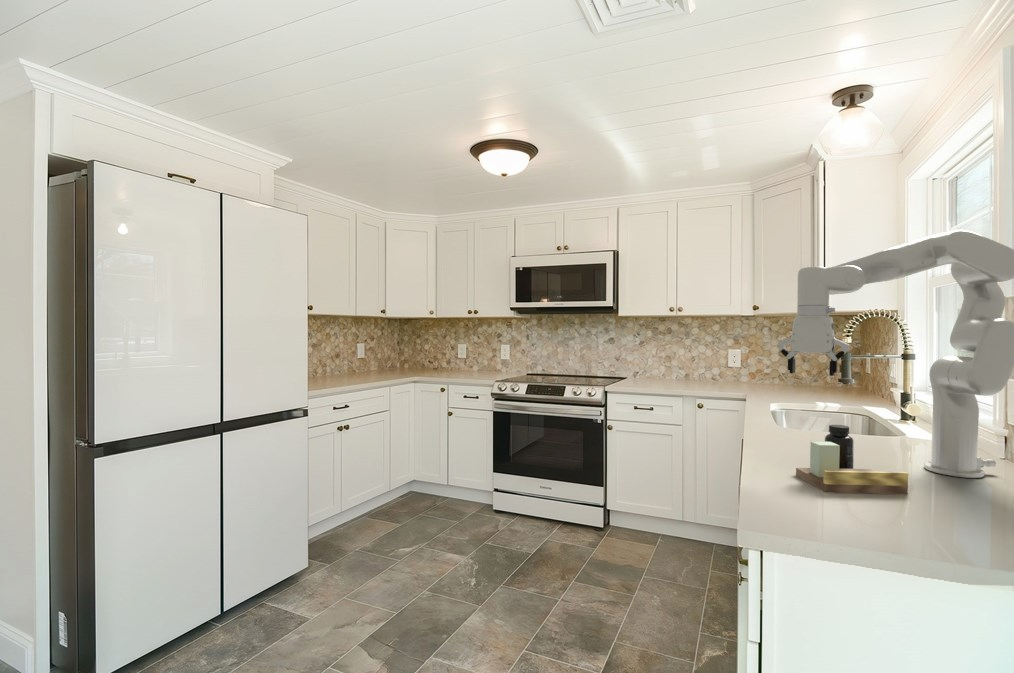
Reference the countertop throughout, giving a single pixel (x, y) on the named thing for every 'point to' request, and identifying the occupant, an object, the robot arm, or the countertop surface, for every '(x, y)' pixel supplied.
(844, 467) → the supplement bottle
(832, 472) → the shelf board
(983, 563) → the countertop surface
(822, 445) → the product box
